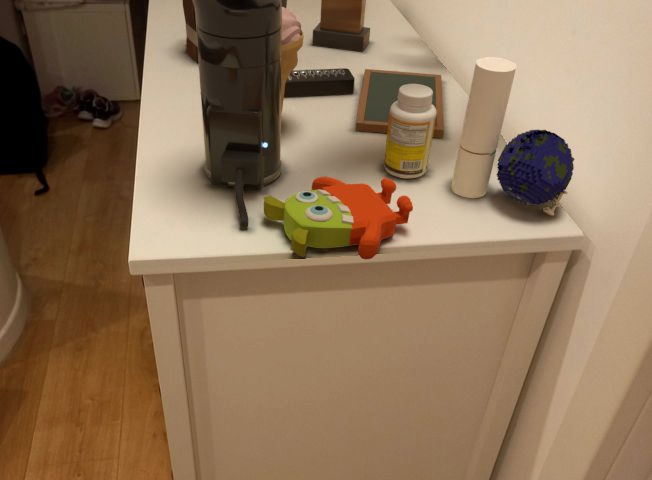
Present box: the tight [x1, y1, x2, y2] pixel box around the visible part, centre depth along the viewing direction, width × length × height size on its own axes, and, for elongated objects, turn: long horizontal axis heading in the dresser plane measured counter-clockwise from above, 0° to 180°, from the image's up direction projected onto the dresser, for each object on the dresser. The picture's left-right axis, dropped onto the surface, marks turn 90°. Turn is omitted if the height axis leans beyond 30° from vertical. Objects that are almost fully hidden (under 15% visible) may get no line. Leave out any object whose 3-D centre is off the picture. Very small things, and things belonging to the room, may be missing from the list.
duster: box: [311, 0, 371, 53], centre depth 117 cm, size 5×9×10 cm, turn 73°
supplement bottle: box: [383, 84, 437, 179], centre depth 84 cm, size 6×6×10 cm
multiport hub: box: [284, 67, 356, 98], centre depth 104 cm, size 4×11×2 cm, turn 101°
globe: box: [496, 129, 575, 217], centre depth 79 cm, size 8×8×8 cm
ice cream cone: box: [281, 7, 304, 116], centre depth 88 cm, size 11×11×20 cm
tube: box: [450, 56, 517, 199], centre depth 79 cm, size 4×4×15 cm
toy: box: [263, 176, 414, 260], centre depth 75 cm, size 15×4×15 cm
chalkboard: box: [355, 68, 445, 139], centre depth 102 cm, size 20×12×1 cm, turn 173°
